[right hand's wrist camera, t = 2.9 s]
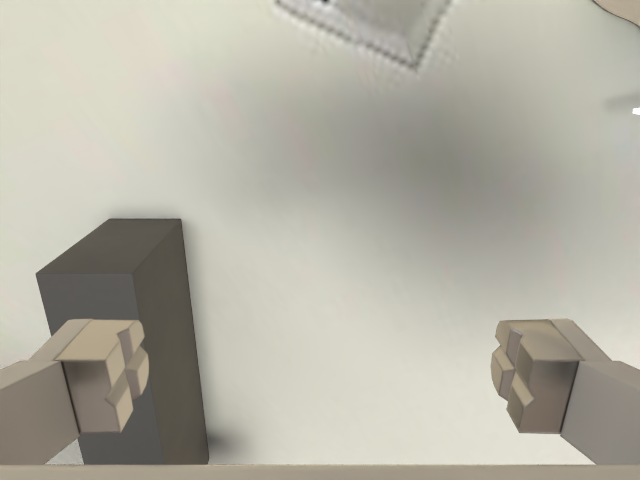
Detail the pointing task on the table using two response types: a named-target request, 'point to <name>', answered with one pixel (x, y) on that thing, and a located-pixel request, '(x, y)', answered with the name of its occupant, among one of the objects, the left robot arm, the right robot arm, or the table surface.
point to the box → (159, 330)
